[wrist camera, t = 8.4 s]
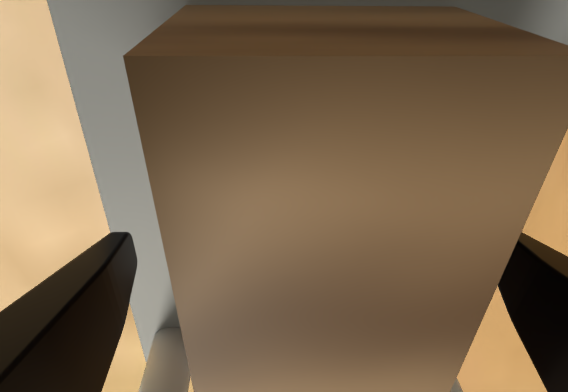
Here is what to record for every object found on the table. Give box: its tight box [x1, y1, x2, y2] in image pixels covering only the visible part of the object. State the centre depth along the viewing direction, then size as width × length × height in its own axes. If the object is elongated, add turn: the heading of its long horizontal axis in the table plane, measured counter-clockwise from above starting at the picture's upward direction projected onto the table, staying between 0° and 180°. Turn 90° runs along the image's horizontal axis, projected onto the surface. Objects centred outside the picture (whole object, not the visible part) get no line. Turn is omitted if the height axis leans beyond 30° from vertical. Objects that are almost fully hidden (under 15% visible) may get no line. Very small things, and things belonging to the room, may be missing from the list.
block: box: [123, 5, 568, 392], centre depth 9 cm, size 10×6×4 cm, turn 179°
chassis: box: [47, 0, 568, 392], centre depth 10 cm, size 16×12×4 cm
